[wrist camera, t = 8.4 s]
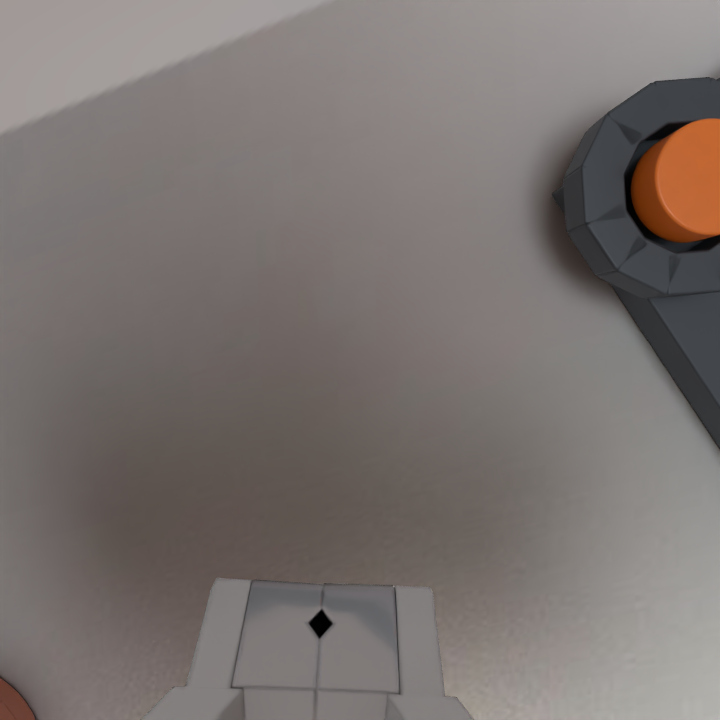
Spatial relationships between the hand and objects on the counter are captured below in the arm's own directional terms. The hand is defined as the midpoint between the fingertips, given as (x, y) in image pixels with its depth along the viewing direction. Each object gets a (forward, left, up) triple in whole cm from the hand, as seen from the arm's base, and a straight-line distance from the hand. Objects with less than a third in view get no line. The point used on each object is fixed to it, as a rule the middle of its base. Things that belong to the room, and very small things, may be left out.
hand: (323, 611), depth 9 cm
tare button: (-1, +13, -9) cm, 16 cm away
